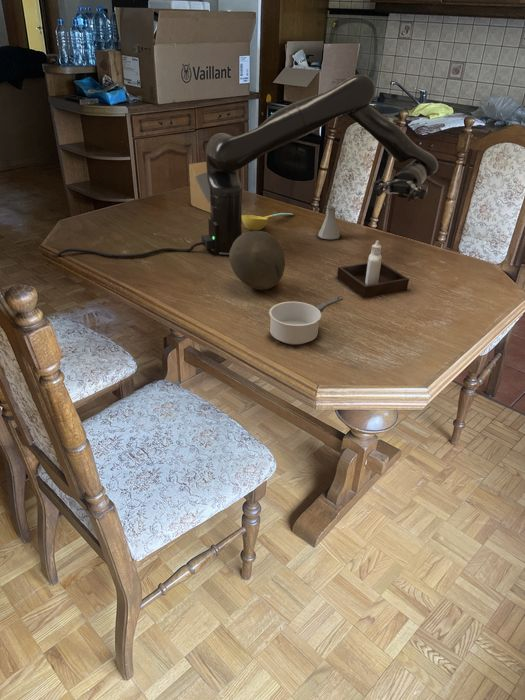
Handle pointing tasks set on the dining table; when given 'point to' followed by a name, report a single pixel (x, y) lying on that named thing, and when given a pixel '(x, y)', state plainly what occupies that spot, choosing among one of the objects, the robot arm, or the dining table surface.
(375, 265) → the eye dropper bottle
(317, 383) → the dining table surface
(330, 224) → the flask
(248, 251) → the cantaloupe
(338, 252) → the dining table surface
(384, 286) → the tray
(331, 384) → the dining table surface
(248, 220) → the ladle
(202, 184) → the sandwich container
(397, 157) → the robot arm
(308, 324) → the saucepan
